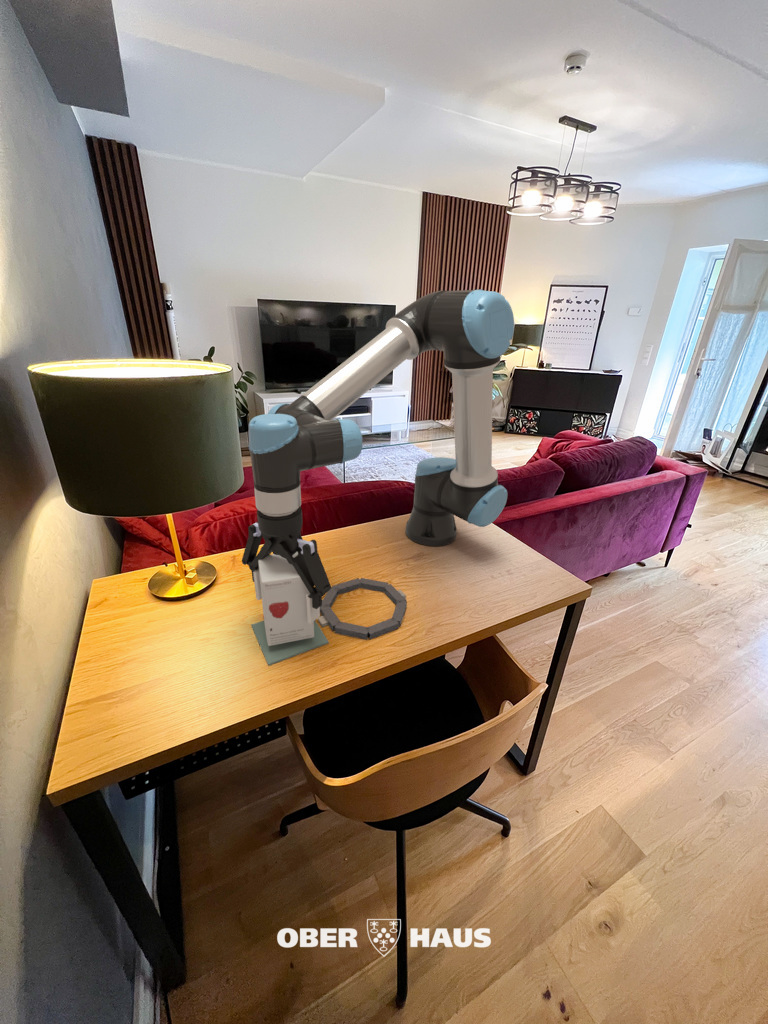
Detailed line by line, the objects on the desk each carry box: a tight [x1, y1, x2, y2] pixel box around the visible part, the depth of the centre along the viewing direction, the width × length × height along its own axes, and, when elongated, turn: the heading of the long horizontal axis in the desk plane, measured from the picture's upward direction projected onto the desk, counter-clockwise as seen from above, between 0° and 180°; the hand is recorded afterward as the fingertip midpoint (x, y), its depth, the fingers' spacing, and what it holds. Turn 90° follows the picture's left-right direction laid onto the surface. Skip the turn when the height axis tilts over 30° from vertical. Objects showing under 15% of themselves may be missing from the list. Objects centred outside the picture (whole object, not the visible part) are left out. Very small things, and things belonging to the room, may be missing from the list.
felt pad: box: [250, 620, 330, 667], centre depth 82 cm, size 12×12×1 cm
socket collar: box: [316, 577, 408, 641], centre depth 90 cm, size 21×18×2 cm
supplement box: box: [258, 552, 314, 646], centre depth 78 cm, size 9×9×15 cm
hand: (287, 607), depth 79 cm, fingers closed on supplement box, 12 cm apart
